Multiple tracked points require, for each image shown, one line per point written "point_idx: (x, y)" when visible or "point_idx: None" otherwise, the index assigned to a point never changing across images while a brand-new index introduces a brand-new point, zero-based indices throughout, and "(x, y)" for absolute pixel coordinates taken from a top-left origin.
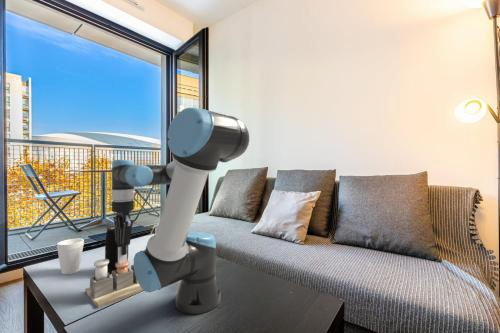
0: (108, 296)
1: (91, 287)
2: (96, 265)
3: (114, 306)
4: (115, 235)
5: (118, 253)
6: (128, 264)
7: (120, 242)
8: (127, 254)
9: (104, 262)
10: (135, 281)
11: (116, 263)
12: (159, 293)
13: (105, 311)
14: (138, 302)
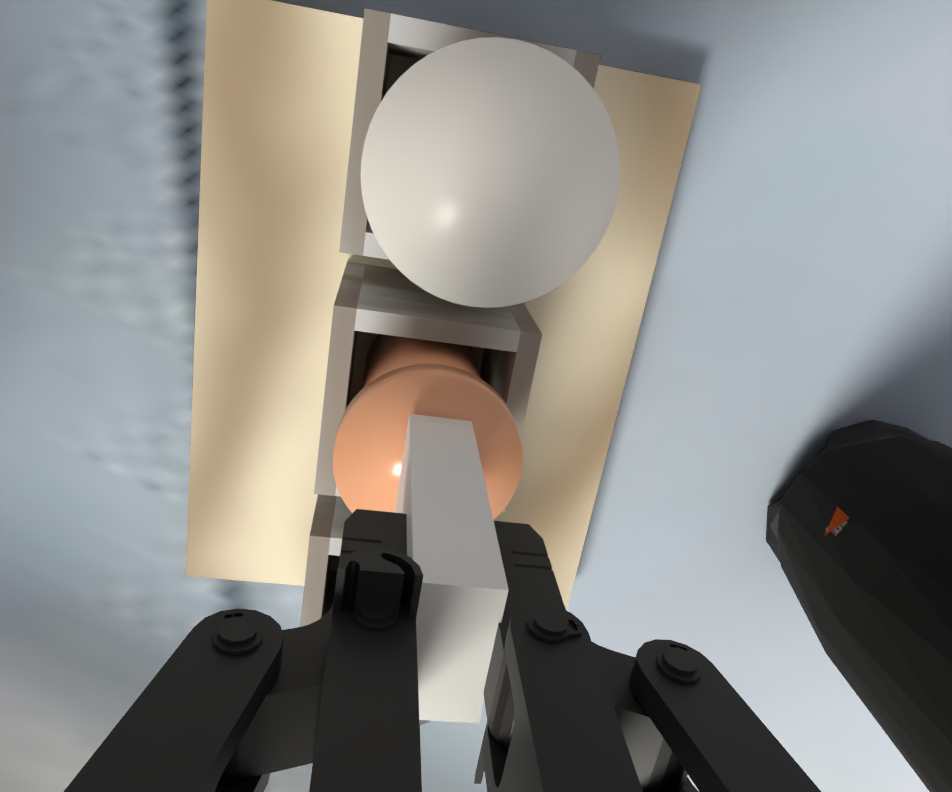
0: (301, 147)
1: None
2: (439, 53)
3: (124, 115)
4: (793, 785)
5: (460, 498)
6: (351, 501)
7: (376, 664)
8: (844, 677)
9: (399, 192)
10: None
11: (499, 410)
12: (29, 493)
13: (95, 8)
14: (14, 295)
